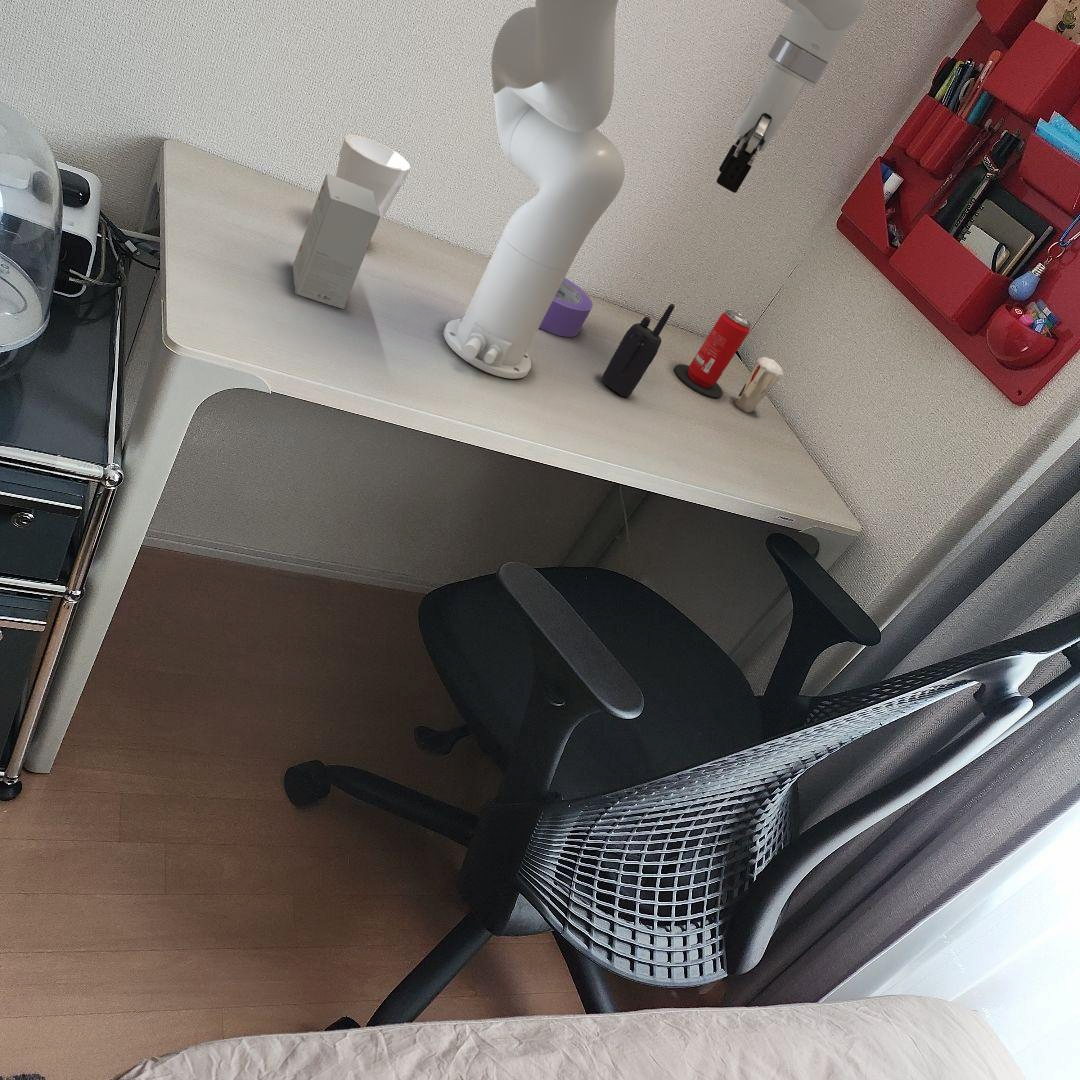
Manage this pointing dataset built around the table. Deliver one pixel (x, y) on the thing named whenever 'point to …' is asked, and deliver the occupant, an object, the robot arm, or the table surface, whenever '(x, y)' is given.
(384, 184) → the foam cup
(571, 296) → the tape roll
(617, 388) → the two-way radio
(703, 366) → the beverage can
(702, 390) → the coaster
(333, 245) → the small box
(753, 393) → the milkshake
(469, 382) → the table surface
